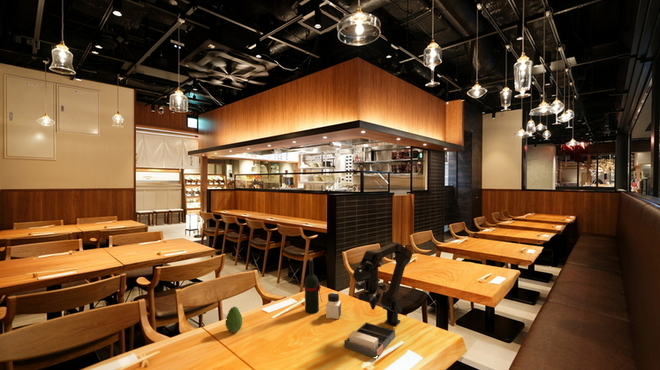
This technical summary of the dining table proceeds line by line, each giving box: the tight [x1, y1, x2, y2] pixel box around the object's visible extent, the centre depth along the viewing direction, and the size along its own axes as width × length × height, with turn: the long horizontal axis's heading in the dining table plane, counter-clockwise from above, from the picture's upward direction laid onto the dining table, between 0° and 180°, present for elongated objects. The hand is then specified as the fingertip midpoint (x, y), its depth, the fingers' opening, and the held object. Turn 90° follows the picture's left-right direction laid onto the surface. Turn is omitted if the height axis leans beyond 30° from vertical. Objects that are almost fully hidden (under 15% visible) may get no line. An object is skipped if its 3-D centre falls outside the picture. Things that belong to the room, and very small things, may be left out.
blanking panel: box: [348, 330, 378, 350], centre depth 125 cm, size 4×12×5 cm, turn 55°
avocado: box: [225, 306, 243, 333], centre depth 142 cm, size 8×8×12 cm
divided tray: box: [343, 321, 396, 359], centre depth 130 cm, size 20×16×3 cm
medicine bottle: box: [325, 292, 342, 320], centre depth 157 cm, size 7×7×12 cm
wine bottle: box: [304, 257, 323, 315], centre depth 164 cm, size 8×10×30 cm
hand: (373, 309), depth 139 cm, fingers closed
